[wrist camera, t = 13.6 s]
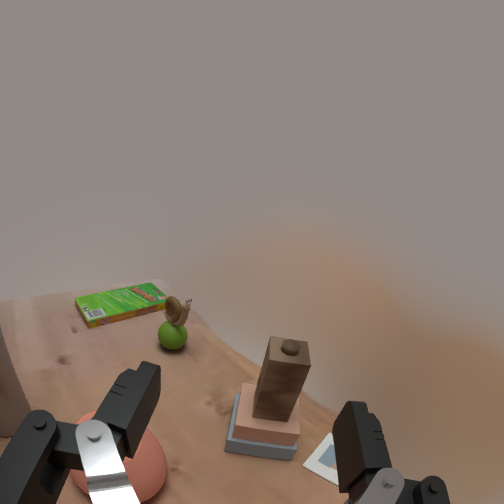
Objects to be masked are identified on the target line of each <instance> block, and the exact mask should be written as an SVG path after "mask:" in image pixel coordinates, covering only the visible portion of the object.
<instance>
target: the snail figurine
mask: <svg viewBox="0 0 504 504" xmlns="http://www.w3.org/2000/svg"><path fill="white" fill-rule="evenodd" d="M189 301H190V302H191V301H192V299H189V300H186V303H185V304H183V306H181V304H180V302H179V301H178V299H176V298H175V297H173V296H170V297H168V298H167V299H166V300H165V309H166V311H165V316H166V319H167V320H168V321H166V322H164V323H163V324H162V325H161V326H160V328H159V331H158V338H159V341H160V343H161V344H162V345H163V346H164V347H166V348H168V349H172V350H175V349H179V348H181V347H182V346H183V345H184V344H185V343H186V341H187V330H186V328H185V327H184V323H185V322H186V320H187V317H188V312H189V310H190V305H189V304H187V303H188V302H189Z"/></svg>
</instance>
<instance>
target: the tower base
mask: <svg viewBox="0 0 504 504" xmlns="http://www.w3.org/2000/svg"><path fill="white" fill-rule="evenodd" d="M256 387H257V385H253V384H248V383H242V388H241V392H240V394H237V393H236V398H235V402H234V406H233V412H232V417H231V422H230V427H229V432H228V437H227V441H226V446H225V451H227V452H233V453H238V454H244V455H250V456H257V457H264V458H272V459H281V460H291V459H292V457H293V456H294V454H295V452H296V451H297V439H298V437H299V435H300V422H299V397H298V399H297V401H296V404H295V406H294V408H293V411H292V413H291V415H290V418H289V420H288V422H280V421H272V420H265V419H258V418H252V413H253V404H254V394H255V390H256Z"/></svg>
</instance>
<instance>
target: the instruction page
mask: <svg viewBox="0 0 504 504" xmlns="http://www.w3.org/2000/svg"><path fill="white" fill-rule="evenodd" d="M302 466H303V467H305V468H306V469H308V470H310V471H312V472H313V473H315V474H317V475H319V476H321V477H322V478H324V479H326V480H328V481H330V482H332V483H333V484H335V485H337V486H339V483H338V474H337V466H336V458H335V450H334V442H333V435H332V434H331V433H329V434H328V435H327V436H326V438H325V439H324V440H323V441H322V443H321V444H320V445H319V446H318V447H317V449H316V450H315V451H314V452H313V453H312V455H311V456H310V457H309V458H308V459H307V460H306V462H305V463H304V464H303V465H302Z"/></svg>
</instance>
